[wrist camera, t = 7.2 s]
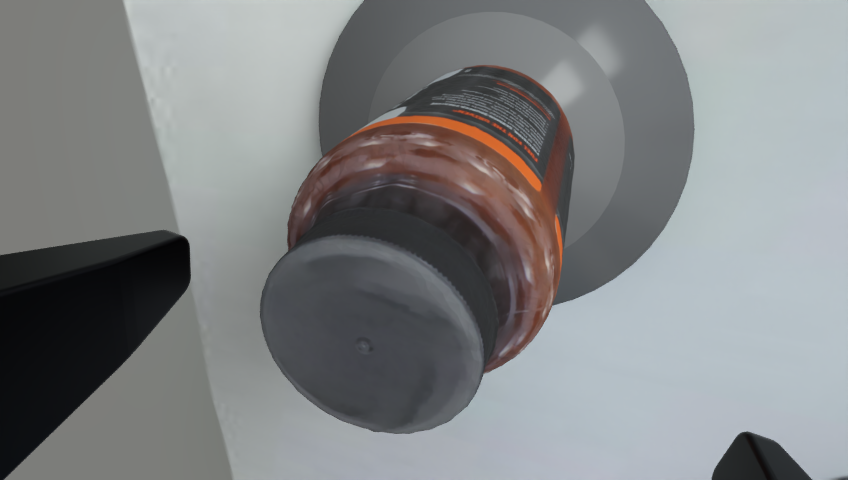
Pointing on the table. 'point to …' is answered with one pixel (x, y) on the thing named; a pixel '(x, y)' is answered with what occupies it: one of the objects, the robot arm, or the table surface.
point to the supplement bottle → (424, 251)
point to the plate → (569, 84)
